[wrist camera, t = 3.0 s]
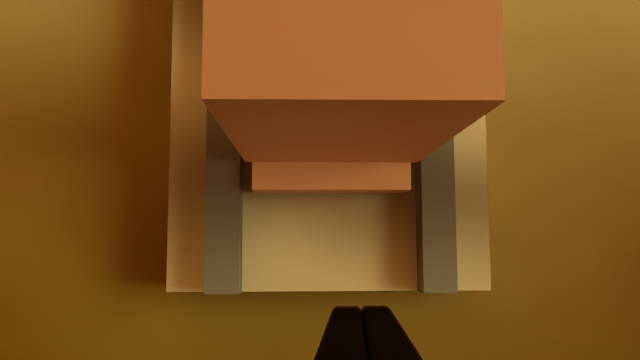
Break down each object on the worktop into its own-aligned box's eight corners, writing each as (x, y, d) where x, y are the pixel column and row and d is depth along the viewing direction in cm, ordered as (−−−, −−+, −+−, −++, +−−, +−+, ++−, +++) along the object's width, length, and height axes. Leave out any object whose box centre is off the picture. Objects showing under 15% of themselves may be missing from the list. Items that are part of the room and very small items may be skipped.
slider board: (472, 285, 21) (502, 292, 18) (179, 287, 20) (158, 294, 17) (458, -201, 22) (482, -269, 19) (190, -207, 22) (172, -276, 19)
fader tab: (410, 193, 19) (507, 148, 10) (248, 193, 18) (200, 147, 10) (408, 67, 19) (499, -84, 10) (249, 66, 19) (204, -88, 10)
